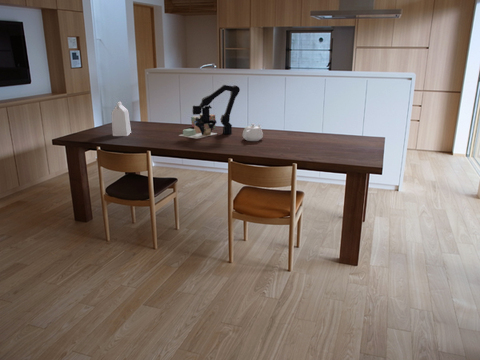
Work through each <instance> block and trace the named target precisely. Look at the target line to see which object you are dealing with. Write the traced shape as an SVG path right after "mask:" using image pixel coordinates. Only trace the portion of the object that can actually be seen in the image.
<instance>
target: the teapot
mask: <svg viewBox="0 0 480 360" xmlns="http://www.w3.org/2000/svg"><path fill="white" fill-rule="evenodd" d="M242 137H243V139H244V140H246V141H248V142H259V141H260V140H261V139H262V138H263V137H264V133H263V130H262V127H261V124H258V125H256V124H255V123H251V125H246V126H245V128H244V129H243V131H242Z"/></svg>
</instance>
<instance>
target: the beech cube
mask: <svg viewBox="0 0 480 360" xmlns="http://www.w3.org/2000/svg"><path fill="white" fill-rule="evenodd" d="M211 133H212V131H211V128H204V134H203V135H205V136H206V137H209V136H208V135H210V136H212V135H211Z"/></svg>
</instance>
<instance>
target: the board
mask: <svg viewBox="0 0 480 360" xmlns="http://www.w3.org/2000/svg"><path fill="white" fill-rule="evenodd" d="M217 134H218V133H217V132H211V135H208V136H205V135H202V134H201V133H196V135H192V136H187V135H183V133H182V134H178V136H180V137H185V138H189V139H197V140H198V139H203V138H205V137H209V136H214V135H217Z"/></svg>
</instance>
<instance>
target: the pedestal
mask: <svg viewBox="0 0 480 360" xmlns="http://www.w3.org/2000/svg"><path fill="white" fill-rule="evenodd" d="M182 134H183V135H187V136H192V135H196V131H195V129H194V128H186V129H183V130H182Z"/></svg>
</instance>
